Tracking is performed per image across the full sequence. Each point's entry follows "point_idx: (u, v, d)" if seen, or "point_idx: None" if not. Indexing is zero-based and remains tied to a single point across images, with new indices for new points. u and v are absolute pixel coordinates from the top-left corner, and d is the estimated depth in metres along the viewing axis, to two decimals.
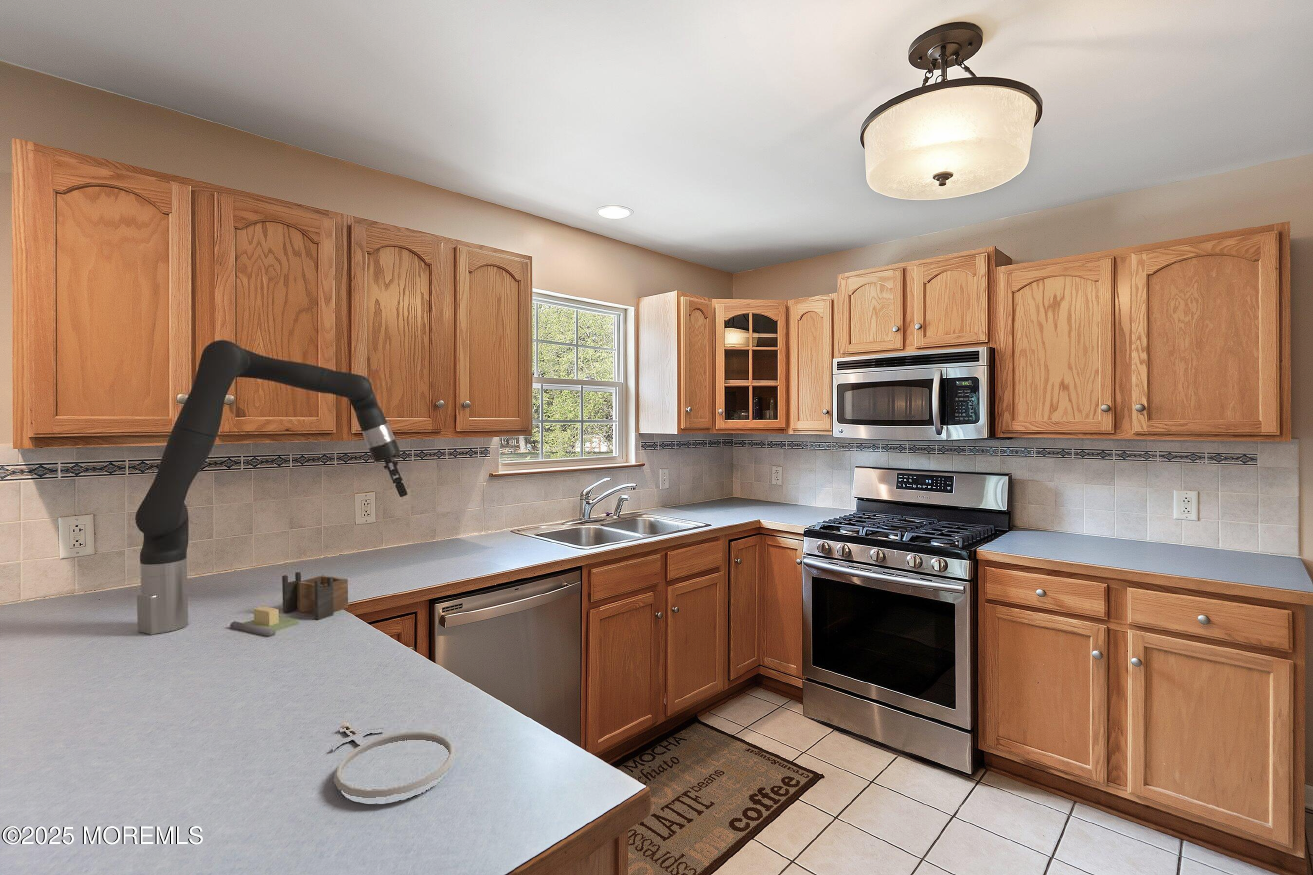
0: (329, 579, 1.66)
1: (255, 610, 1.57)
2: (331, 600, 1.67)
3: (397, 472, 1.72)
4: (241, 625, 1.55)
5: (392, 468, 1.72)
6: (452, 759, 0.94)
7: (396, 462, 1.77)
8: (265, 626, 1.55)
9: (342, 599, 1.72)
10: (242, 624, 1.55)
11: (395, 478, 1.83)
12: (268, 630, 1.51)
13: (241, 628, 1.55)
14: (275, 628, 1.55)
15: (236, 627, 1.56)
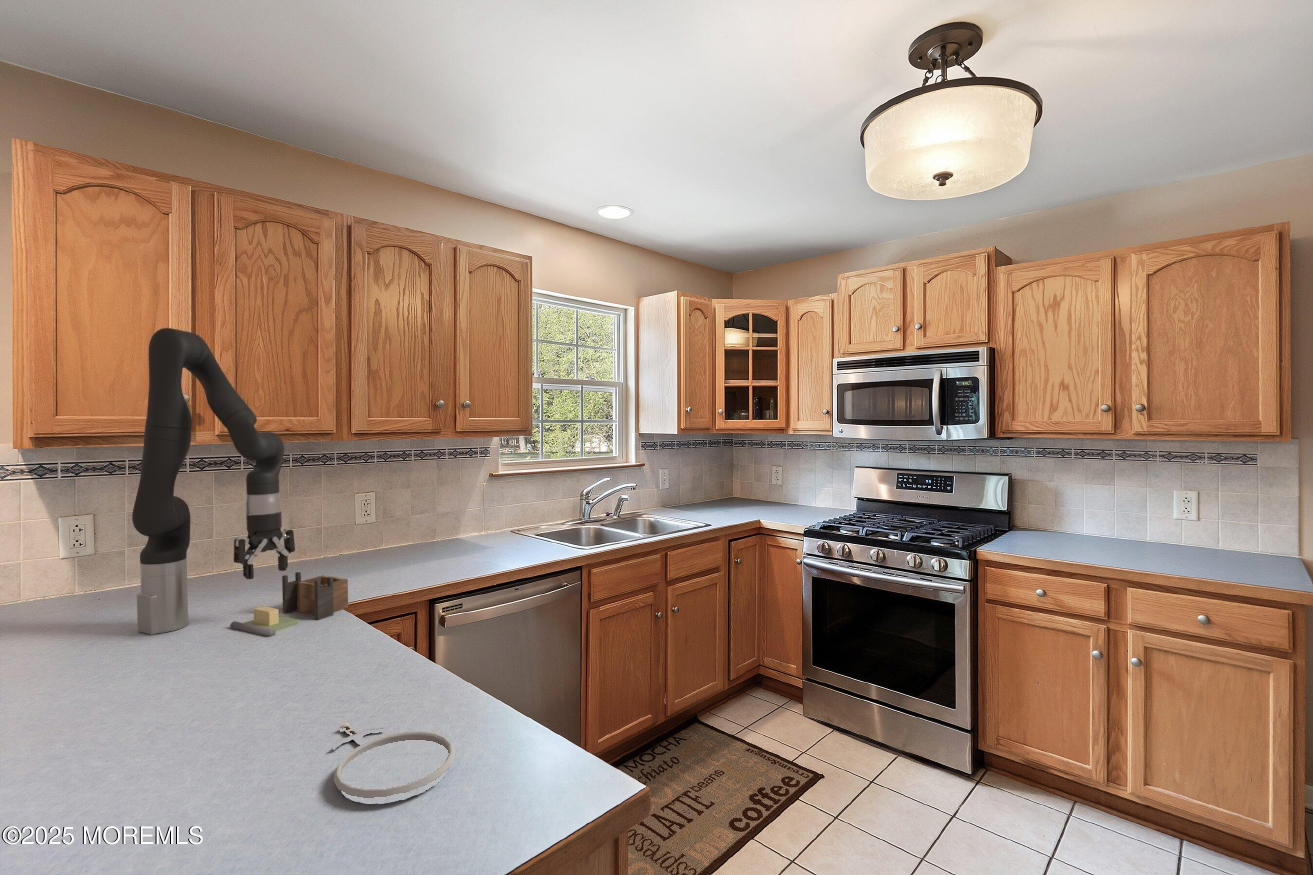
0: (329, 579, 1.66)
1: (255, 610, 1.57)
2: (331, 600, 1.67)
3: (239, 552, 1.50)
4: (241, 625, 1.55)
5: (237, 546, 1.51)
6: (452, 759, 0.95)
7: (262, 539, 1.55)
8: (265, 626, 1.55)
9: (342, 599, 1.72)
10: (242, 624, 1.55)
11: (280, 552, 1.61)
12: (268, 630, 1.51)
13: (241, 628, 1.55)
14: (275, 628, 1.55)
15: (236, 627, 1.56)
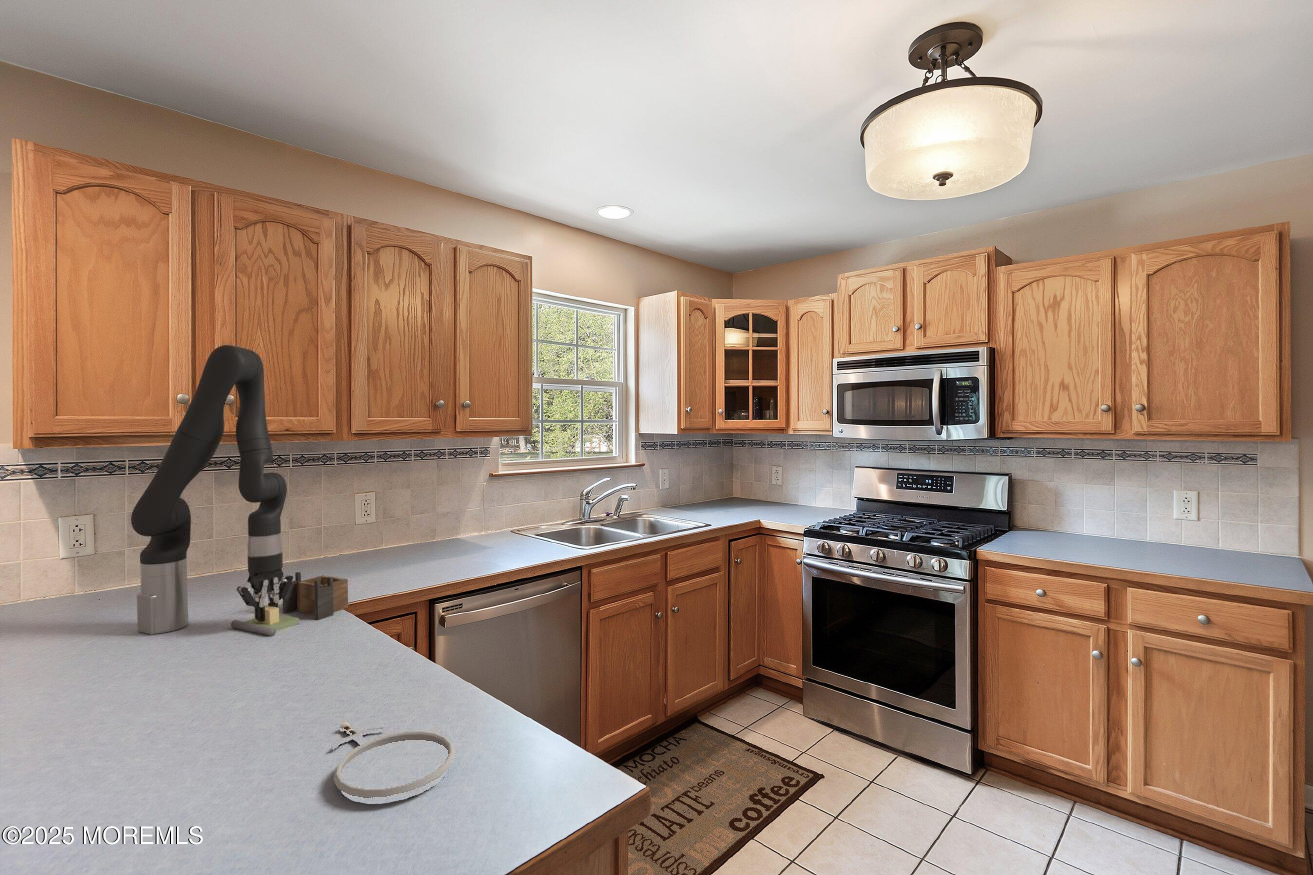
0: (329, 579, 1.66)
1: None
2: (331, 600, 1.67)
3: (247, 599, 1.52)
4: (242, 624, 1.55)
5: (242, 594, 1.52)
6: (452, 759, 0.95)
7: (263, 581, 1.55)
8: (265, 625, 1.55)
9: (342, 599, 1.72)
10: (242, 623, 1.56)
11: (271, 599, 1.59)
12: (268, 629, 1.51)
13: (241, 627, 1.55)
14: (275, 627, 1.55)
15: (236, 626, 1.56)
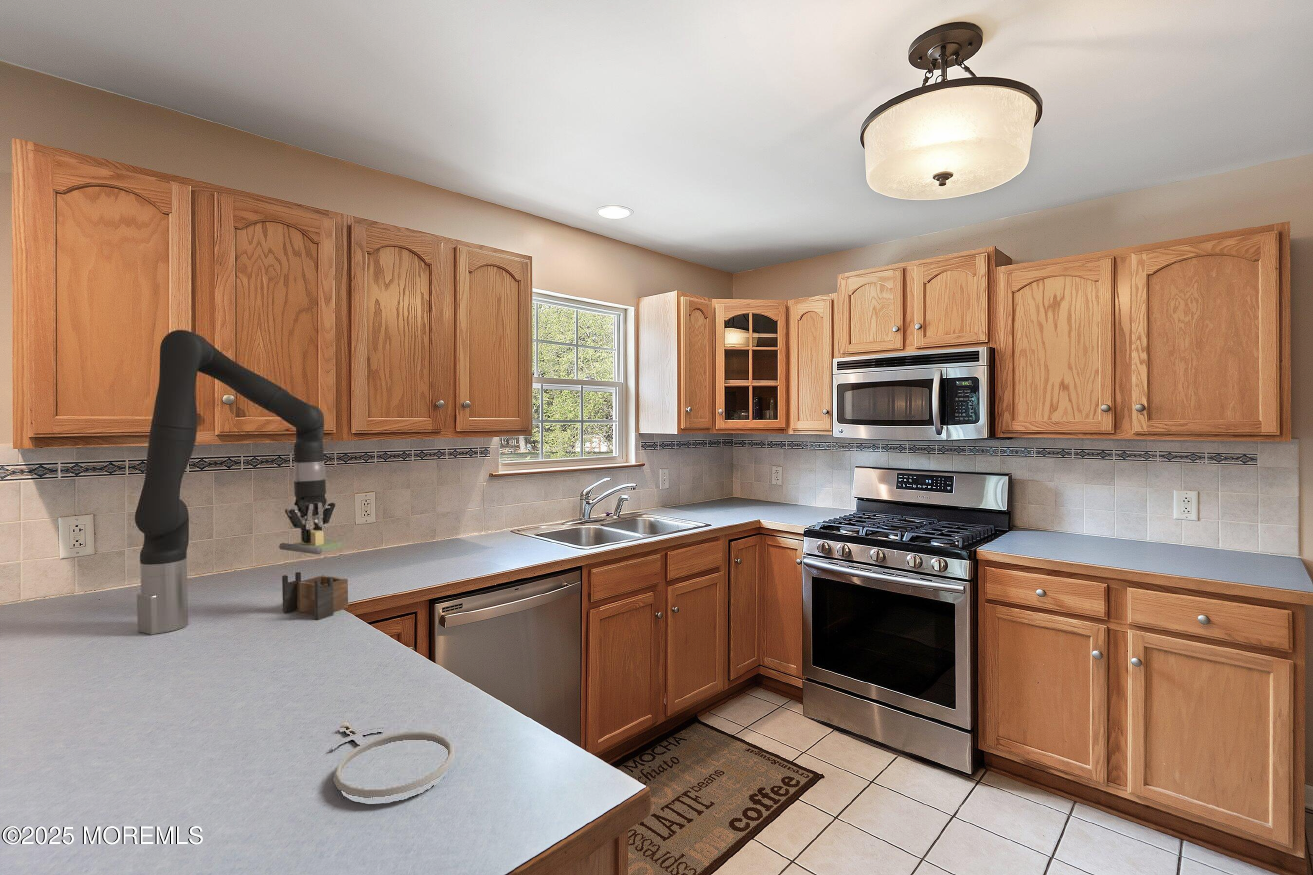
0: (329, 579, 1.66)
1: None
2: (331, 600, 1.67)
3: (294, 520, 1.63)
4: (290, 545, 1.66)
5: (290, 515, 1.63)
6: (452, 759, 0.95)
7: (308, 505, 1.65)
8: (312, 546, 1.65)
9: (342, 599, 1.72)
10: (290, 544, 1.66)
11: (315, 523, 1.69)
12: (315, 548, 1.62)
13: (289, 548, 1.66)
14: (321, 547, 1.65)
15: (285, 547, 1.66)
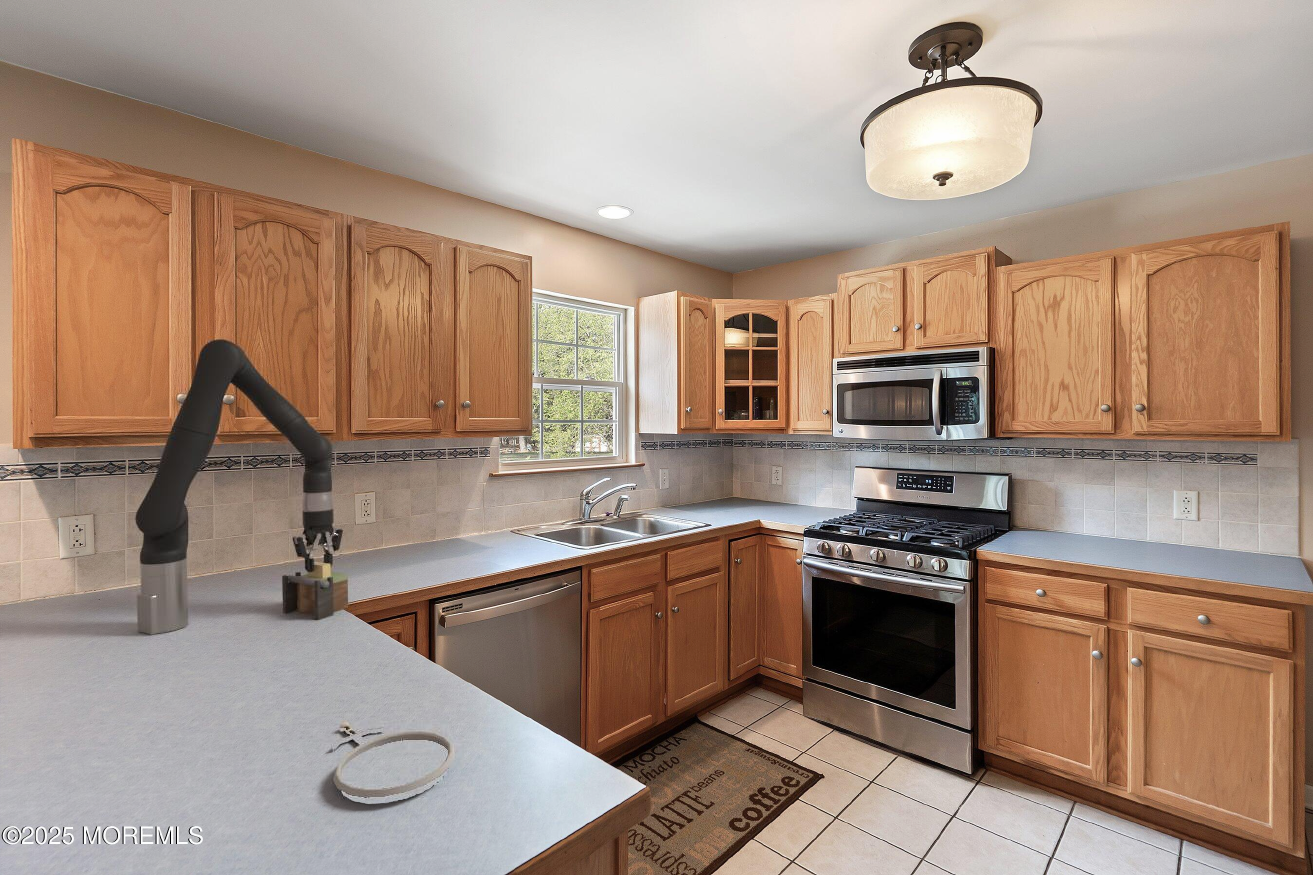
0: (329, 579, 1.66)
1: None
2: (331, 600, 1.67)
3: (300, 549, 1.65)
4: (297, 578, 1.68)
5: (296, 543, 1.65)
6: (451, 758, 0.95)
7: (316, 534, 1.68)
8: (319, 579, 1.68)
9: (342, 599, 1.72)
10: (297, 577, 1.69)
11: (326, 550, 1.73)
12: (323, 581, 1.65)
13: (297, 580, 1.68)
14: None
15: (292, 580, 1.69)
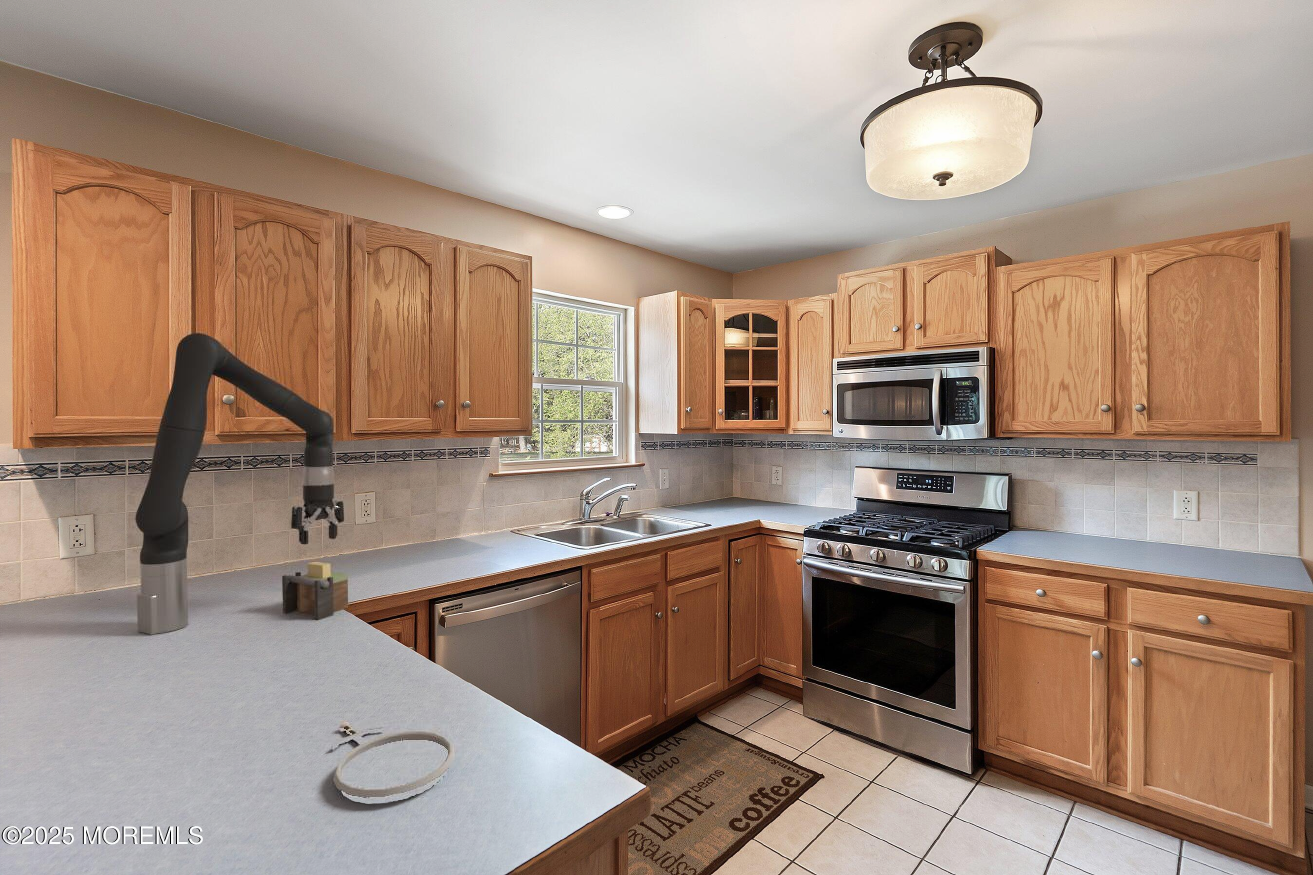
0: (329, 579, 1.66)
1: (309, 565, 1.71)
2: (331, 600, 1.67)
3: (296, 519, 1.64)
4: (297, 578, 1.68)
5: (295, 513, 1.64)
6: (451, 759, 0.95)
7: (317, 508, 1.68)
8: (319, 579, 1.68)
9: (342, 599, 1.72)
10: (297, 577, 1.69)
11: (331, 522, 1.74)
12: (323, 581, 1.65)
13: (297, 580, 1.68)
14: None
15: (292, 580, 1.69)
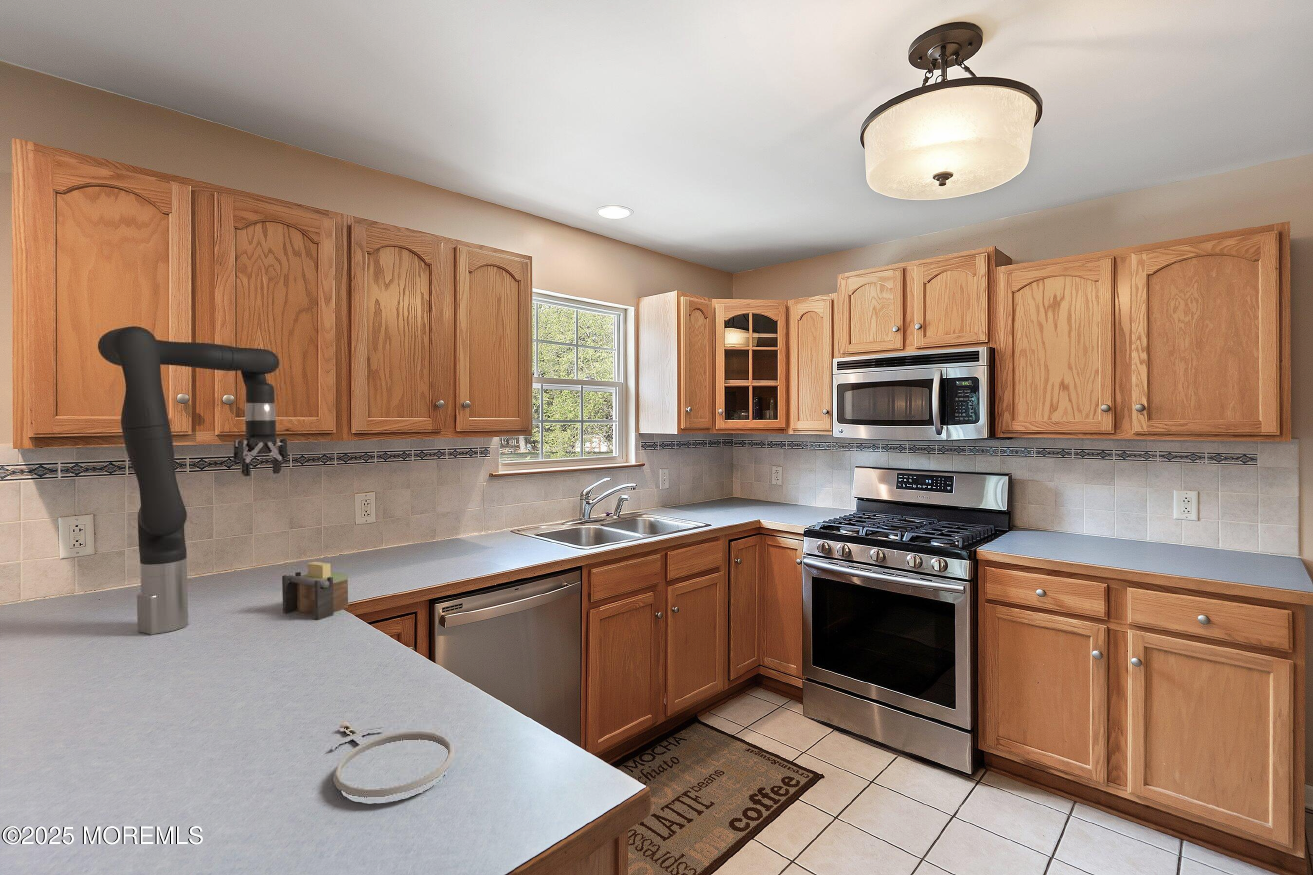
0: (329, 579, 1.66)
1: (309, 565, 1.71)
2: (331, 600, 1.67)
3: (238, 451, 1.73)
4: (297, 578, 1.68)
5: (236, 445, 1.73)
6: (451, 758, 0.95)
7: (259, 442, 1.77)
8: (319, 579, 1.68)
9: (342, 599, 1.72)
10: (297, 577, 1.69)
11: (275, 457, 1.83)
12: (323, 581, 1.65)
13: (297, 580, 1.68)
14: None
15: (292, 580, 1.69)
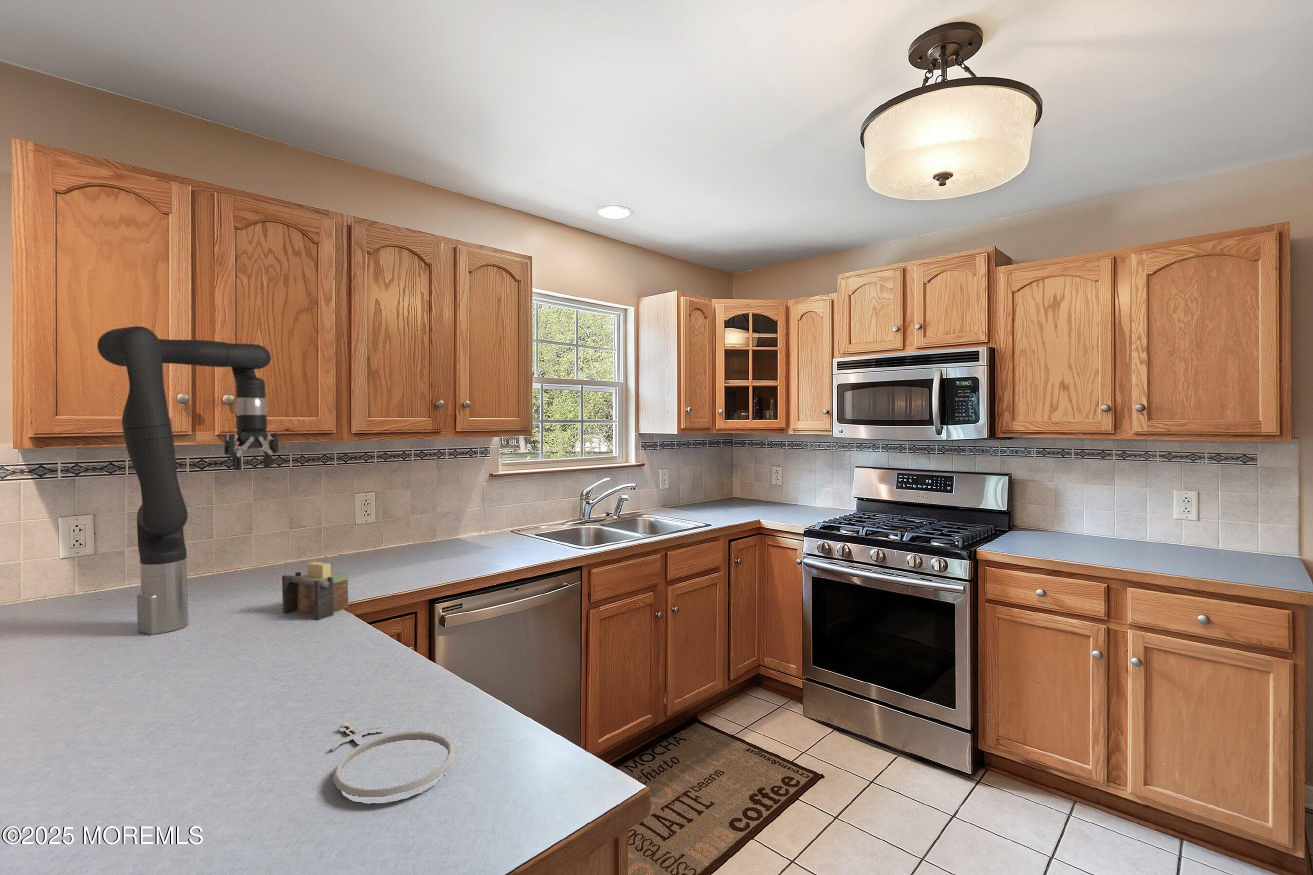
0: (329, 579, 1.66)
1: (309, 565, 1.71)
2: (331, 600, 1.67)
3: (229, 445, 1.74)
4: (297, 578, 1.68)
5: (227, 440, 1.75)
6: (451, 758, 0.95)
7: (250, 437, 1.79)
8: (319, 579, 1.68)
9: (342, 599, 1.72)
10: (297, 577, 1.69)
11: (265, 452, 1.85)
12: (323, 581, 1.65)
13: (297, 580, 1.68)
14: None
15: (292, 580, 1.69)
